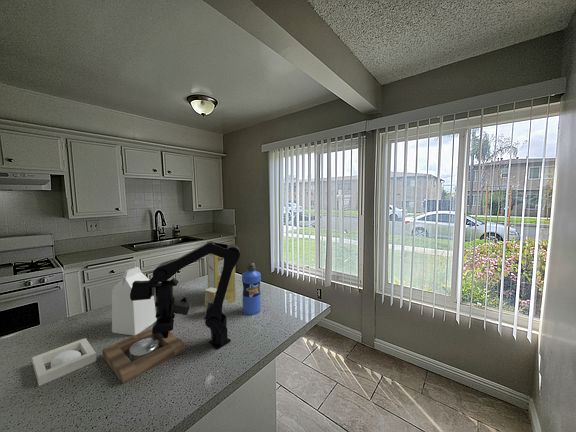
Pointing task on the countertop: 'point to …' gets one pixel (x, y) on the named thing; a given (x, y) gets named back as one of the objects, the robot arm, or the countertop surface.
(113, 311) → the milk
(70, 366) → the frame
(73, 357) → the garlic
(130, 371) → the surround
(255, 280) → the water bottle
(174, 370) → the countertop surface
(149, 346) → the dial
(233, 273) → the pasta box
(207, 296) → the skincare box
